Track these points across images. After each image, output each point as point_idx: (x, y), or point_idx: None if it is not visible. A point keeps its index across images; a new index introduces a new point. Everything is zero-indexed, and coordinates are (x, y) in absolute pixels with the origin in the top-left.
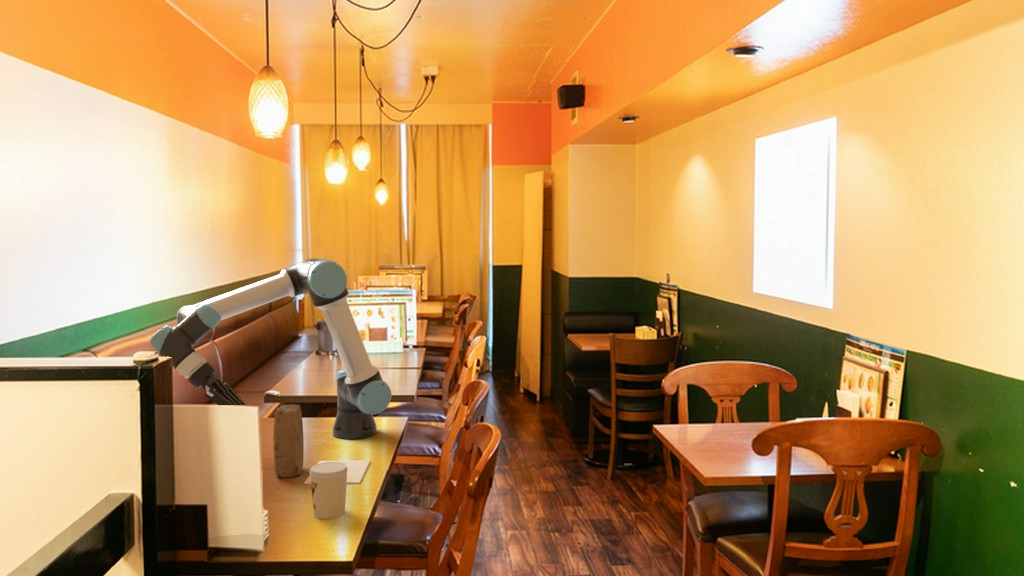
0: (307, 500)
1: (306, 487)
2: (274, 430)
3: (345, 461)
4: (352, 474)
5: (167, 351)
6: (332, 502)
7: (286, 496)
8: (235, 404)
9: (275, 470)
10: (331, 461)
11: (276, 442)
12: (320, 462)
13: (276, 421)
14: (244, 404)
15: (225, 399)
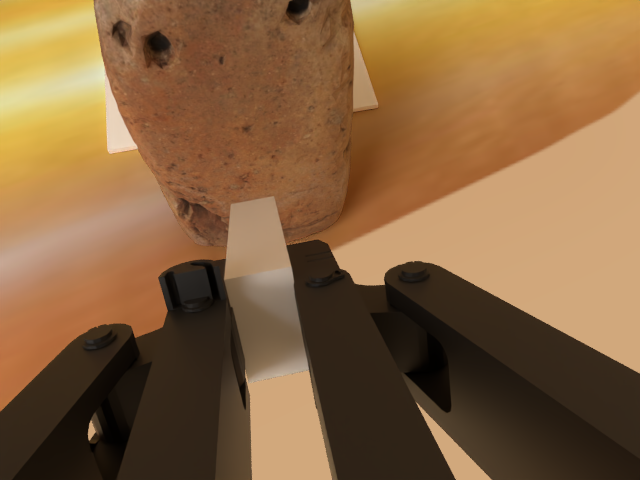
0: (517, 45)
1: (406, 90)
2: (350, 74)
3: None
4: None
5: None
6: None
7: (509, 112)
8: (362, 308)
9: (338, 212)
10: (116, 107)
11: (352, 115)
12: (131, 138)
13: (345, 12)
14: (205, 267)
15: (587, 369)
